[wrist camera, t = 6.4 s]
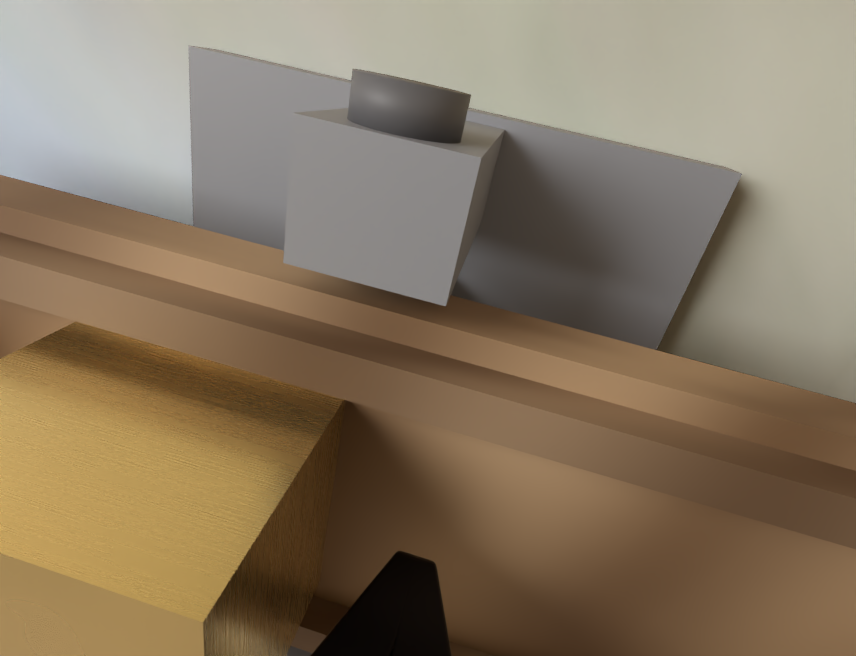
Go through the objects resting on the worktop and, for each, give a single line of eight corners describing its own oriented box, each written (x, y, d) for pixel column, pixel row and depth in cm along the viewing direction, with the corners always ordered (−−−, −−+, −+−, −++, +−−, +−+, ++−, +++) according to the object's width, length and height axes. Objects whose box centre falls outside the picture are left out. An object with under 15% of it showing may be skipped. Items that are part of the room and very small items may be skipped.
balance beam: (1287, 518, 7) (1511, 646, 6) (910, 775, 11) (976, 896, 10) (-283, 99, 10) (-453, 101, 8) (-137, 431, 14) (-231, 478, 12)
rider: (346, 396, 8) (203, 622, 5) (319, 581, 11) (209, 827, 7) (80, 319, 9) (-232, 474, 5) (110, 513, 11) (-93, 712, 7)
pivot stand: (733, 147, 10) (937, 205, 5) (531, 582, 17) (529, 799, 12) (214, 29, 11) (-62, -24, 6) (217, 483, 18) (86, 643, 13)
